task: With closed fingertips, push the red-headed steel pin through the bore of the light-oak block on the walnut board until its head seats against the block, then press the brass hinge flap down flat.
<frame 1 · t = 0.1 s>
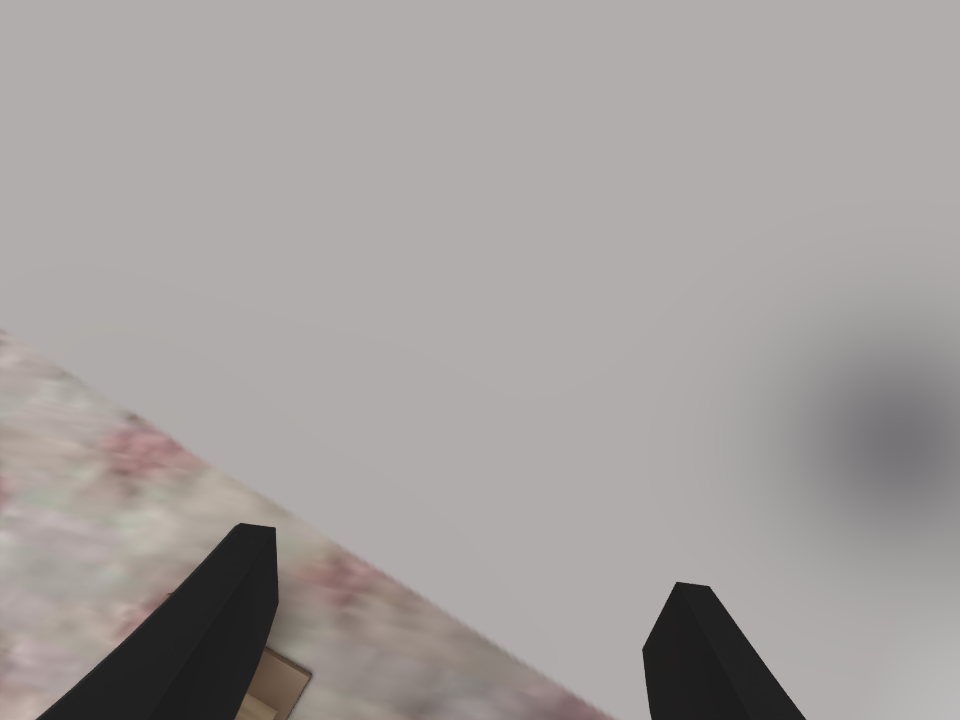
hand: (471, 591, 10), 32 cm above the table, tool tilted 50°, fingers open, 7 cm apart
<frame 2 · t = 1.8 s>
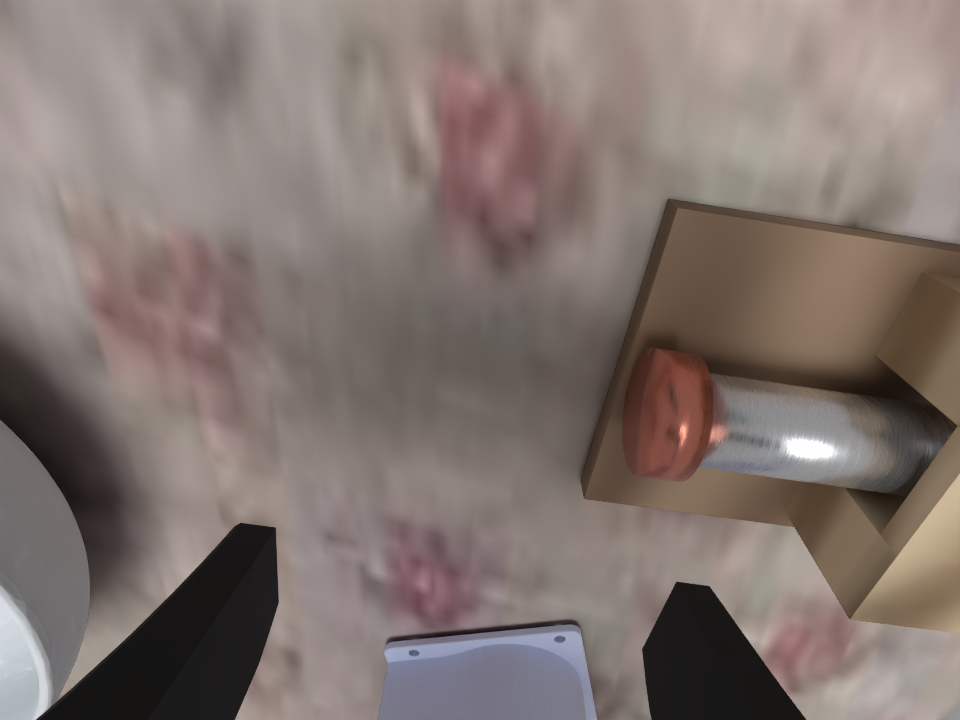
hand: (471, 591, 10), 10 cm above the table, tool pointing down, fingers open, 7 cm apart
pin: (809, 434, 17), point 3 cm above the table, slide at 0.0 cm
hitch block: (829, 390, 19), on the table
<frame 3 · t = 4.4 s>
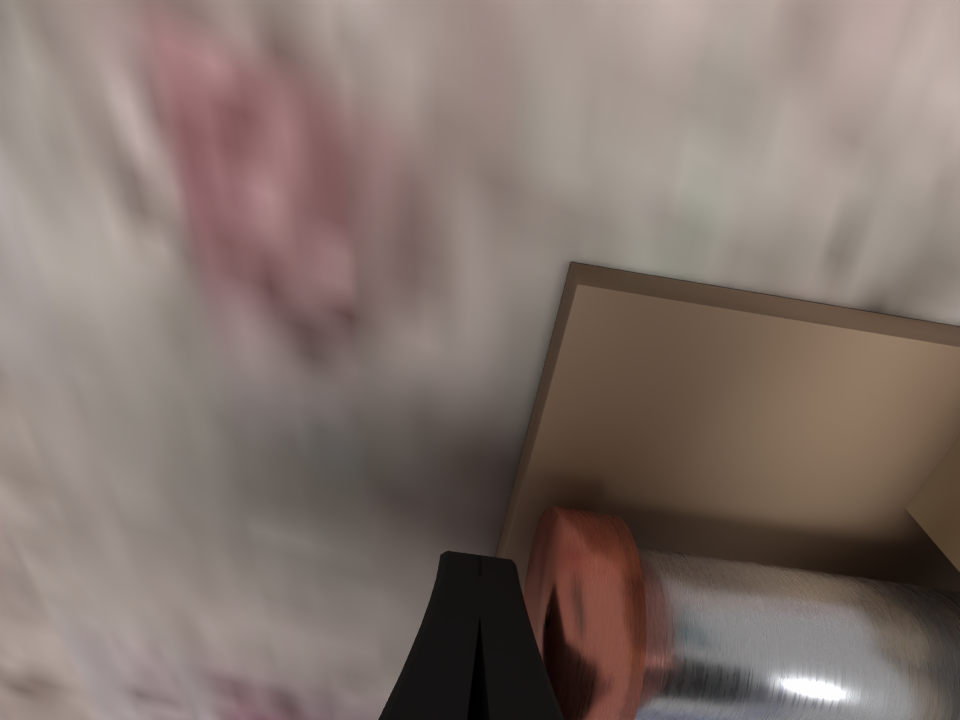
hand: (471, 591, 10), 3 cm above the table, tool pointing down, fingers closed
pin: (814, 651, 10), point 3 cm above the table, slide at 0.3 cm, touching gripper
hitch block: (831, 538, 13), on the table
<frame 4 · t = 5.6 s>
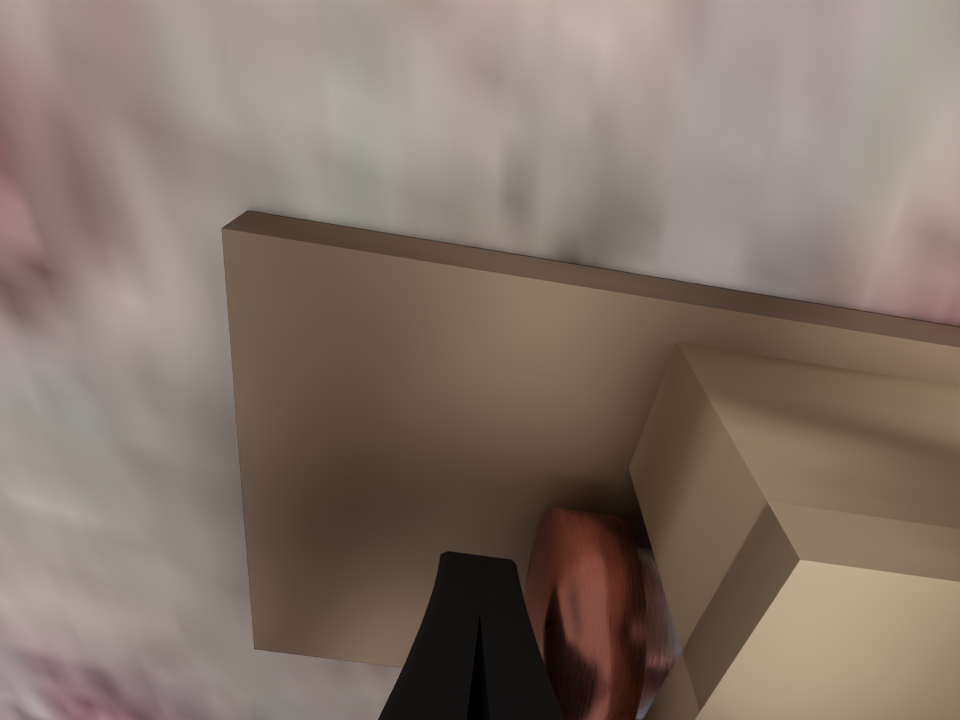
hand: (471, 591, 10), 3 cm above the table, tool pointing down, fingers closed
pin: (814, 652, 10), point 3 cm above the table, slide at 5.9 cm, touching gripper
hitch block: (594, 505, 13), on the table
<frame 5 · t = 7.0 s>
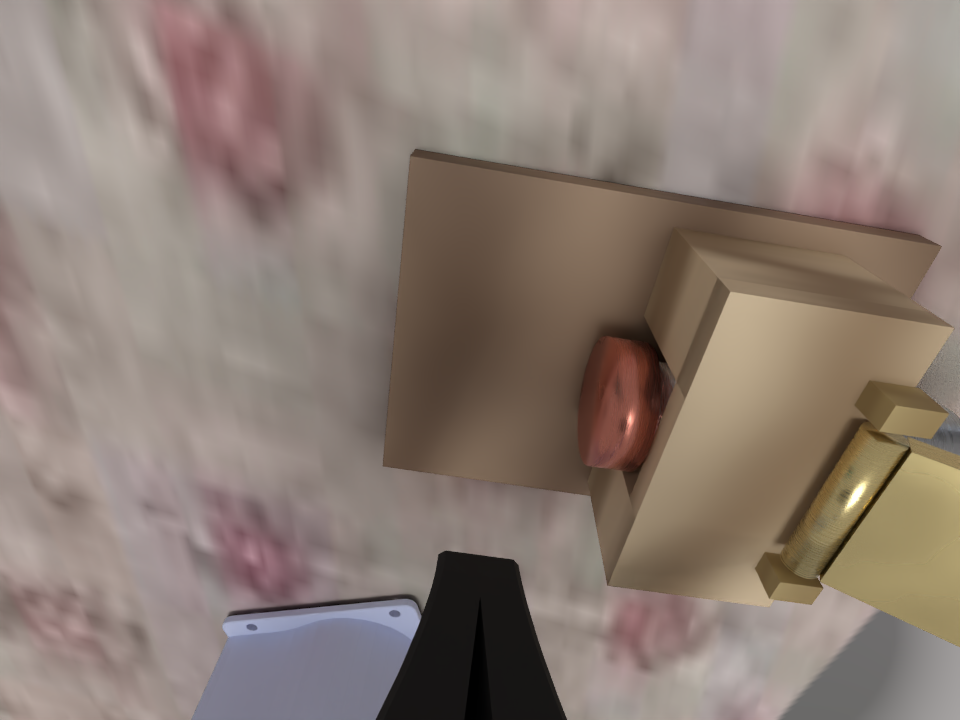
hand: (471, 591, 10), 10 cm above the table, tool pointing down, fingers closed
pin: (763, 425, 17), point 3 cm above the table, slide at 6.0 cm
hitch block: (619, 355, 19), on the table
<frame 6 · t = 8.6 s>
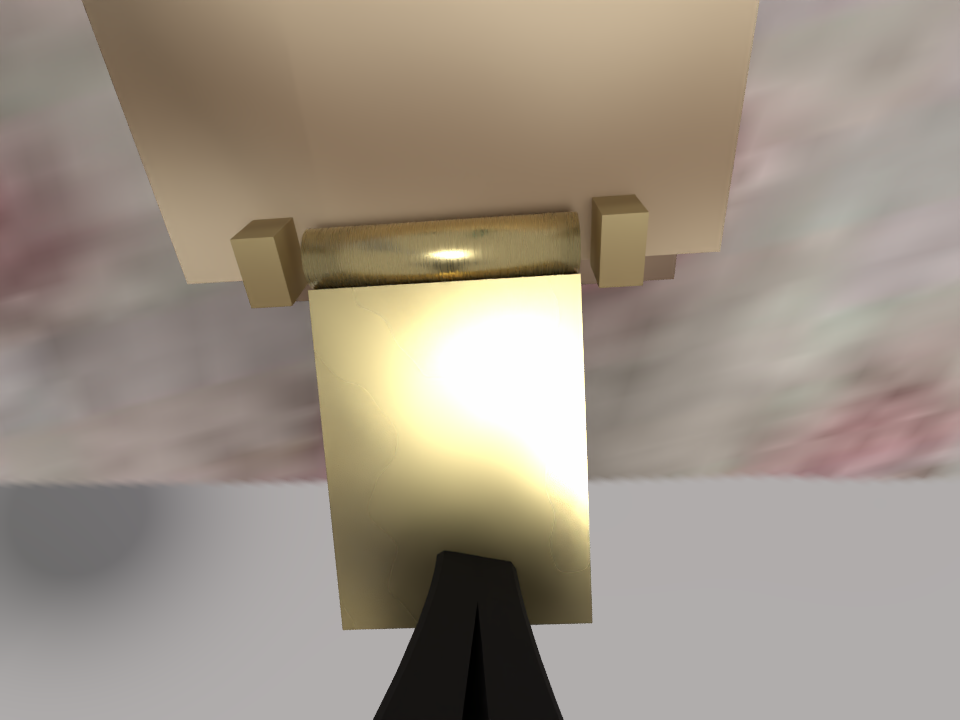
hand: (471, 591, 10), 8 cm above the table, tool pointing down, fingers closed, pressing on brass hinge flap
brass hinge flap: (454, 427, 10), point 7 cm above the table, hinge at 23.1°, touching gripper
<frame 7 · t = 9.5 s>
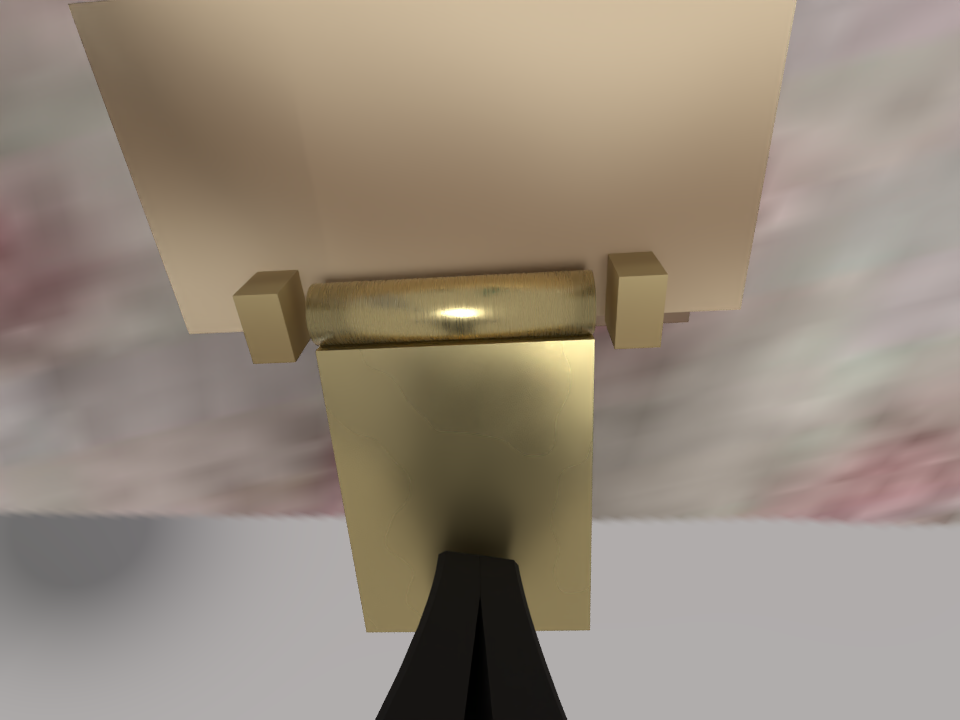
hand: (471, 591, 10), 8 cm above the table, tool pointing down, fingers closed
brass hinge flap: (465, 469, 10), point 7 cm above the table, hinge at 8.2°
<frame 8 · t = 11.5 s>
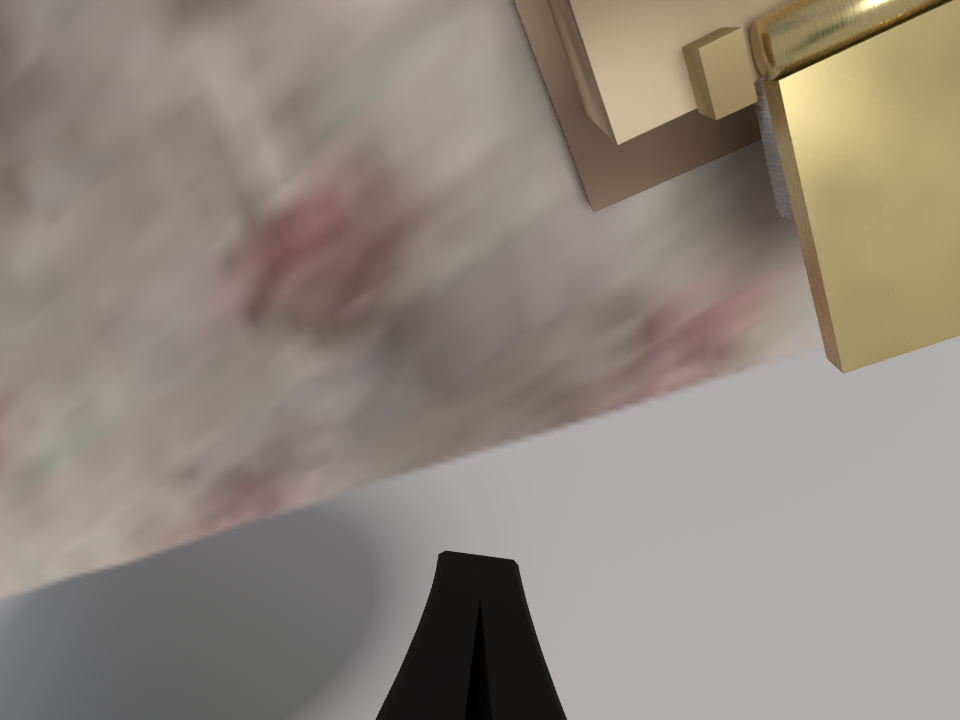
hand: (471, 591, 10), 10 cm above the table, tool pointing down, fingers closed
brass hinge flap: (928, 163, 10), point 6 cm above the table, hinge at 4.3°
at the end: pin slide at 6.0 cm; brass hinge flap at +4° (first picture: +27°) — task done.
